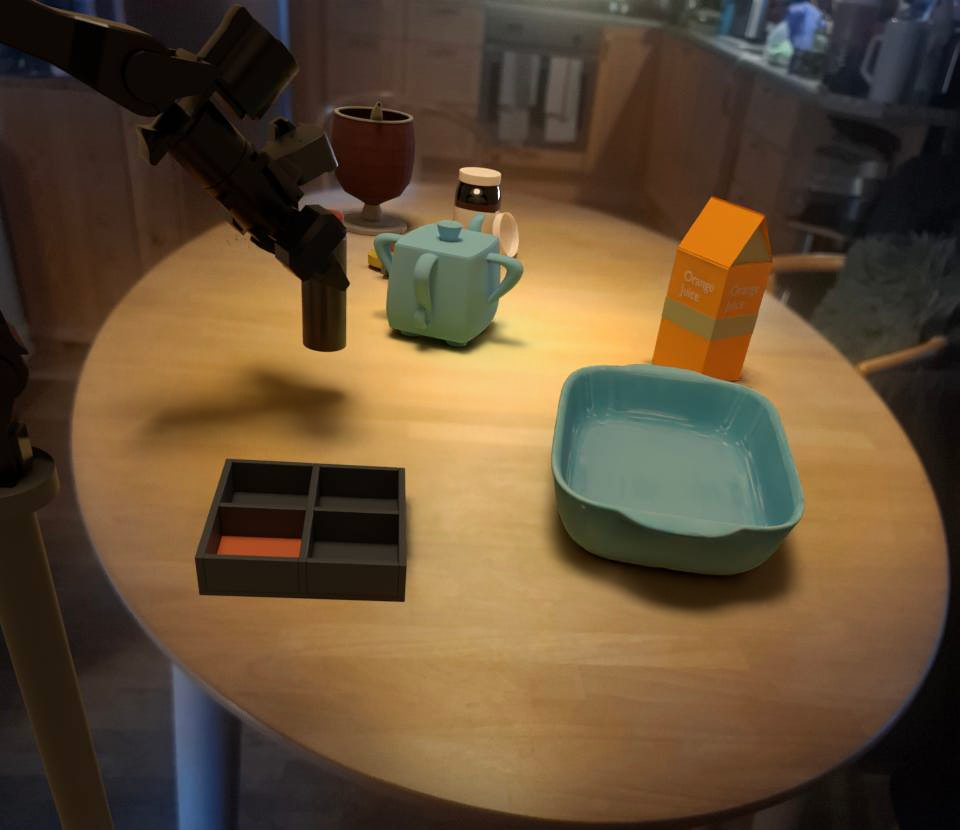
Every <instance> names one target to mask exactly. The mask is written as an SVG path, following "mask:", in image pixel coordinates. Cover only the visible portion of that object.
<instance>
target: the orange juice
mask: <svg viewBox="0 0 960 830" xmlns="http://www.w3.org/2000/svg"><path fill="white" fill-rule="evenodd" d="M768 231H769V230H768V225H767V219H766V214H764V213H762V212H759V211H756V210H753V209H751V208H747V207H745V206H741V205H739V204H736V203H733V202H731V201H727V200H725V199H722V198H720V197H716V196H714V195H711V197H710V199H708V201H707V203H706V204H705V206H704V207H703V209H702V210H701V211H700V214H699V215H698V216H697V218H696V219H695V220H694V222H693V224H692V225H691V227H690V228H689V230H688V231H687V233H686V234H685V236H684V237H683V239H682V240H681V242H680V244H679V245H677V247H676V251H675V256H674V260H673V264H672V269H671V274H670V278H669V283H668V287H667V290H666V291H667V292H666V296H665V297H664V298H665V299H664V303H663V307H662V312H661V318H660V323H659V327H658V332H657V337H656V341H655V346H654V349H653V355H652V359H651V364H652V365H659V366H667V367H674V368H680V369H686V370H691V371H694V372H698V373H701V374H704V375H706V376H709V377H712V378H716V379H719V380H724V381H728V382H734V381H739V380H740V377H741V374H742V371H743V367H744V364H745V361H746V357H747V353H748V350H749V348H750V344H751V339H752V336H753V334H754V330H755V327H756V324H757V321H758V317H759V311H760V309H761V305H762V303H763V302H762V301H763V298H764V296H765V295H764V294H765V291H766V288H767V286H768V285H767V284H768V281H769V277H770V274H771V271H772V268H773V265H774V261H773V254H772V250H771V249H772V248H771V243H770V237H769V232H768Z"/></svg>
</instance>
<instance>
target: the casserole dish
mask: <svg viewBox="0 0 960 830" xmlns="http://www.w3.org/2000/svg"><path fill="white" fill-rule="evenodd" d="M785 429H786V428H785V426H784V423H783V421H782V418H781V416H780V414H779V411H778V409H777V408H776V406H775V405H774V404H773V403H772V401H770V400H769V398H768V397H766V396H765V395H764V394H762V393H761V392H759V391H757V390H755V389H753V388H752V387H749V386H745V385H743V384H739V383H736V382H733V381H730V382H728V381H724V380H719V379H716V378H712V377H709V376H706V375H704V374H701V373H698V372H694V371H691V370H686V369H680V368H674V367H667V366H659V365H655V364H648V363H631V364H624V365H619V364H618V365H617V364H616V365H615V364H597V365H595V364H594V365H589V366H584V367H580V368H578V369H576V370H575V371H574V370H573V371H572V372H571V373H570V374H569V375H568V376H567V378H566V379H565V381H564V383H562V387H561V389H560V393H559V399H558V404H557V410H556V418H555V424H554V429H553V435H552V436H553V437H552V445H551V453H550V454H551V455H550V456H551V457H550V464H551V466H550V467H551V471H552V472H551V473H552V477H553V484H554V493H555V499H556V505H557V509H558V515H559V516H560V519H561V522H562V525H563V526H564V528H565V530H566V532H567V534H568V535H569V536H570V538H571V539H572V540H573V541H574V542H575V543H576V544H578V545H579V546H581V547H582V548H583V549H584V550H585V551H586V552H588V553H590V554H592V555H595V556H596V557H600V558H604V559H607V560H611V561H615V562H620V563H625V564H631V565H637V566H642V567H647V568H648V567H649V568H657V569H659V568H664V569H666V570H670V571H671V570H672V571H678V572H684V573H691V574H699V575H708V576H710V575H711V576H733V575H734V576H735V575H737V574H741V573H745V572H748V571H751V570H753V569H755V568H757V567H759V566H761V565H762V564H764V563H765V562H766V561H767V560H768V559H769V558H770V557H771V556H773V554H774V553H775V552H776V551H777V550H778V549H779V547H780V546H781V545H782V543H784V541H785V539H786V538H787V537H788V536H789V535H790V533H791V532H792V531H793V529H794V528H795V527H796V525H797V524H798V523H799V522H800V521H801V519H802V518H803V516H804V512H805V505H806V503H805V494H804V490H803V486H802V482H801V478H800V475H799V472H798V468H797V466H796V465H797V464H796V463H795V459H794V456H793V452H792V449H791V446H790V442H789V439H788V436H787V432H786V430H785Z"/></svg>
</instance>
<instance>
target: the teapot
mask: <svg viewBox="0 0 960 830" xmlns="http://www.w3.org/2000/svg"><path fill="white" fill-rule="evenodd" d="M484 218H485V214H484V213H477V214H475V215H474V216H473V217H472V218H471V220H470V223H469V225H468V228H467V230H465V229H462V226H463V225H462V224H461V223H459V222H456V221H453V220H450V219H443V220H439V221H437V222H436V223H427V224H423V225H421V226H419V227H416V228H414V229H412V230H411V231H409V232H408V233H406V234H404V235H403V234H392V233H382V234H379V235H377V236H374V239H373V250H374V249H375V252H376V254H377V256H378V258H379V260H380V262H381V263H382V265H383V266H384V268H385V269H386V271H387V272H388V273H389V275H388V280H387V281H388V282H387V290H386V301H385V302H386V303H385V304H386V305H385V313H386V319H387V323H388V327H389V328H390V329H391V328H392V329H394V330H399V331H400V332H401V334H402V335H404V336H406V337H407V336H408V337H418V336H426V337H430V338H433V339H439V340H442V341H443V340H444V341H446V343H447V345H449V346H453V347H464V346H467V345H468V342H470V341H471V340H473V339H474V338H476V337H477V336H479V335H481V333H483V332H484V331H485V330H486V329H487V328H488V326H489V325H490V324H491V323H492V321H494V319H495V317H496V314H497V311H498V309H499V304H500V303H499V302H500V299H501V298H502V297H504V296H505V295H506V294H508V293H509V292H510V291H511V290H512V289H513V288H515V287H516V286H517V284H518V283H520V280H521V279H522V277H523V275H524V271H525V270H524V269H525V268H524V265H523V263H522V262H521V261H520V260H519V259H517V258H515V257H509V256H505V255H501V254H500V246H499V238H498V237H497V236H494V235H490V234H485V233H481V228H482V223H483V221H484ZM391 244H395V248H394V253H393V257H392V254H391V251H390V245H391ZM501 267H504V268H505V270H506V273H505V276H504V277H503V279H502V281H501V276H502V275H501Z"/></svg>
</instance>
